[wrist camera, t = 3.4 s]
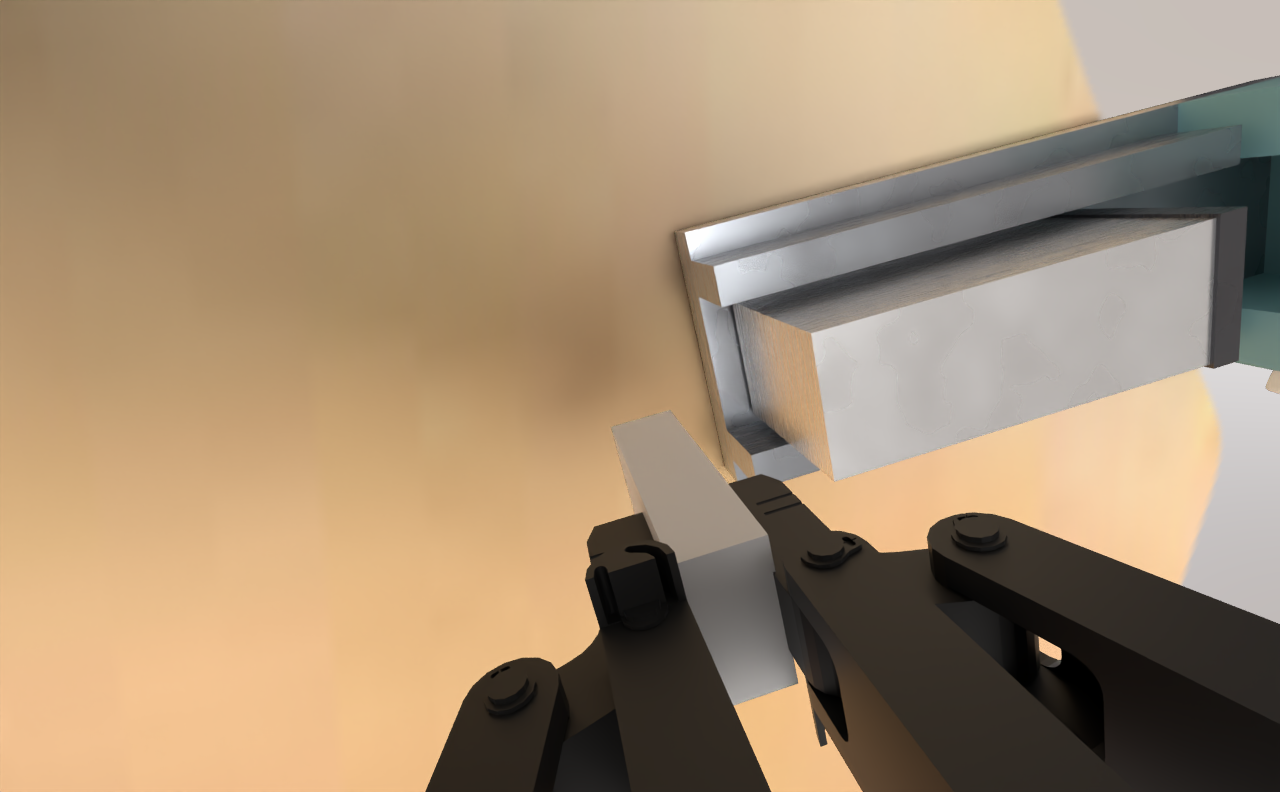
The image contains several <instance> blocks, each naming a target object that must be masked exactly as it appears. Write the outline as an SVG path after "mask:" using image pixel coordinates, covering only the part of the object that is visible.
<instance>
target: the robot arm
mask: <svg viewBox="0 0 1280 792" xmlns="http://www.w3.org/2000/svg"><path fill="white" fill-rule="evenodd" d="M611 429H612V433H613V436H614V440H615V444H616V447H617V451H618V455H619V458H620V462H621V466H622V469H623V473H624V477H625V480H626V484H627V488H628V491H629V495H630V499H631V502H632V506H633V510H634V514H635V515H631V516H628V517H625V518H621V519H618V520H615V521H612V522H608V523H605V524H602V525H599V526H595V527H594V529H593V531H592V533H591V535H590V537H589V539H588V541H587V546H588V552H589V557H590V562H591V565H590V566H589V568H588V569H587V572H586V578H585V581H586V584H587V588H588V591H589V594H590V597H591V601H592V604H593V607H594V610H595V614H596V617H597V620H598V623H599V627H600V630H599V633H598V635H597V637H596V638H595V640H594V641H593V643H592V644H591V645H590V646H589V647H588V648H587V649H586V650H585V651H584V652H583V653H582V654H580V655H579V656H577V657H576V658H574V659H573V660H572V661H570V662H568V663H567V664H565V665H563V666H562V667H560V668H558V669H555V667H554V666H553V664H552V663H551V662H548V661H546V660H543V659H541V658H520V659H517V660H513V661H510V662H507V663H504V664H502V665H500V666H498V667H496V668H495V669H493V670H491V671H490V672H488V673H486V674H485V675H484V676H483V677H482V678H481V679H480V680H479V681H478V682H476V683H475V684H474V685H473V686H472V688H471V689H470V691H469V693H468V694H467V696H466V697H465V699H464V700H463V703H462V705H461V708H460V710H459V712H458V715H457V717H456V720H455V722H454V724H453V727H452V729H451V732H450V734H449V736H448V739H447V741H446V744H445V746H444V748H443V751H442V753H441V756H440V758H439V760H438V763H437V765H436V768H435V770H434V772H433V775H432V777H431V780H430V782H429V784H428V787H427V789H426V792H771V790H770V788H769V786H768V783H767V781H766V779H765V777H764V774H763V772H762V770H761V767H760V765H759V763H758V761H757V758H756V756H755V754H754V752H753V749H752V747H751V745H750V742H749V740H748V738H747V736H746V733H745V731H744V729H743V726H742V724H741V722H740V720H739V717H738V715H737V713H736V711H735V708H734V706H733V705H736V704H739V703H742V702H745V701H748V700H751V699H754V698H757V697H760V696H763V695H765V694H768V693H771V692H774V691H777V690H780V689H783V688H786V687H789V686H792V685H795V684H798V679H797V674H796V669H795V664H794V659H795V660H796V662H797V664H798V665H799V667H800V668H801V670H802V672H803V673H804V675H805V678H806V683H807V688H808V693H809V698H810V703H811V708H812V713H813V718H814V723H815V728H816V733H817V737H818V740H819V743H820V747H821V746H824V745H827V740H826V735H825V729H826V730H827V732H828V734H829V736H830V737H831V739H832V741H833V742H834V744H835V746H836V747H837V749H838V751H839V752H840V754H841V756H842V757H843V759H844V761H845V763H846V764H847V766H848V768H849V769H850V771H851V773H852V774H853V776H854V778H855V779H856V781H857V783H858V784H859V786H860V788H861V789H862V791H863V792H1280V624H1278V623H1276V622H1273V621H1270V620H1268V619H1265V618H1263V617H1260V616H1258V615H1255V614H1253V613H1250V612H1247V611H1245V610H1242V609H1240V608H1237V607H1235V606H1232V605H1229V604H1227V603H1224V602H1222V601H1219V600H1217V599H1214V598H1212V597H1209V596H1206V595H1204V594H1201V593H1199V592H1196V591H1194V590H1191V589H1189V588H1186V587H1183V586H1181V585H1178V584H1176V583H1173V582H1171V581H1168V580H1166V579H1163V578H1160V577H1158V576H1155V575H1153V574H1150V573H1148V572H1145V571H1142V570H1140V569H1137V568H1135V567H1132V566H1130V565H1127V564H1125V563H1122V562H1119V561H1117V560H1114V559H1112V558H1109V557H1107V556H1104V555H1102V554H1099V553H1096V552H1094V551H1091V550H1089V549H1086V548H1084V547H1081V546H1078V545H1076V544H1073V543H1071V542H1068V541H1066V540H1063V539H1061V538H1058V537H1055V536H1053V535H1050V534H1048V533H1045V532H1043V531H1040V530H1038V529H1035V528H1032V527H1030V526H1027V525H1025V524H1022V523H1020V522H1017V521H1015V520H1012V519H1009V518H1005V517H1001V516H998V515H994V514H983V513H966V514H958V515H953V516H951V517H948V518H945V519H942V520H940V521H938V522H937V523H936V524H935V525H933V526H932V527H931V528H930V530H929V533H928V536H927V541H928V549H922V550H913V551H903V552H889V553H880V552H878V551H877V550H876V549H875V548H874V547H872V546H871V545H870V544H869V543H868V542H867V541H865V540H864V539H862V538H860V537H859V536H857V535H855V534H851V533H846V532H842V531H831V530H830V529H829V528H828V527H827V526H825V525H824V524H823V523H822V522H821V521H820V520H819V519H818V518H817V517H816V516H815V515H814V514H813V513H812V512H811V511H810V510H809V509H808V508H807V507H806V506H805V505H804V504H802V502H801V501H800V500H799V499H798V498H797V497H796V496H795V495H794V494H792V492H791V491H790V490H789V489H788V488H787V487H786V486H785V485H784V484H783V483H782V482H781V481H780V480H777V479H774V478H772V477H769V476H766V475H763V474H759V475H756V476H753V477H749V478H746V479H743V480H739V481H736V482H733V483H730V484H728V483H727V482H726V480H725V479H724V478H723V477H722V475H721V474H720V473H719V472H718V470H717V469H716V468H715V467H714V465H713V464H712V463H711V461H710V460H709V459H708V458H707V456H706V455H705V454H704V453H703V451H702V450H701V449H700V447H699V446H698V445H697V444H696V442H695V441H694V440H693V439H692V437H691V436H690V435H689V433H688V432H687V431H686V430H685V428H684V427H683V426H682V425H681V423H680V422H679V421H678V420H677V418H676V417H675V416H674V414H673V413H672V412H671V411H670V410H668V411H665V412H661V413H658V414H654V415H651V416H647V417H644V418H640V419H637V420H634V421H630V422H627V423H623V424H620V425H616V426H613V427H611ZM1038 636H1039V637H1041V638H1043V639H1044V640H1046V641H1048V642H1050V643H1052V644H1054V645H1055V646H1057V647H1059V648H1061V653H1062V658H1061V660H1057V659H1054V658H1052V657H1049V656H1048V655H1046V654H1044V653H1042V652H1041V651H1039V639H1038ZM793 657H794V659H793Z"/></svg>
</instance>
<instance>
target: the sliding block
mask: <svg viewBox="0 0 1280 792" xmlns="http://www.w3.org/2000/svg"><path fill="white" fill-rule="evenodd" d="M1247 209H1248V206H1236V207H1167V208H1099V209H1076V210H1072V211H1069V212H1065V213H1061V214H1058V215H1054V216H1050V217H1047V218H1043V219H1040V220H1036V221H1032V222H1029V223H1025V224H1021V225H1018V226H1014V227H1011V228H1007V229H1003V230H1000V231H996V232H992V233H989V234H985V235H982V236H978V237H974V238H971V239H967V240H963V241H960V242H956V243H953V244H949V245H945V246H942V247H938V248H934V249H931V250H927V251H924V252H920V253H916V254H913V255H909V256H905V257H902V258H898V259H895V260H891V261H887V262H884V263H880V264H876V265H873V266H869V267H866V268H862V269H858V270H855V271H851V272H848V273H844V274H840V275H837V276H833V277H829V278H826V279H822V280H819V281H815V282H811V283H808V284H804V285H800V286H797V287H793V288H790V289H786V290H782V291H779V292H775V293H771V294H768V295H764V296H761V297H757V298H753V299H750V300H746V301H742V302H739V303H735V304H732V306H733V311H734V316H735V321H736V326H737V332H738V337H739V342H740V347H741V352H742V357H743V362H744V368H745V373H746V378H747V383H748V388H749V393H750V398H751V403H752V409H753V413H754V414H755V415H756V416H757V417H758V418H759V419H761V420H762V421H763V422H764V423H765V424H767V425H768V426H769V427H770V428H771V429H773V430H774V431H775V432H776V433H777V434H778V435H780V436H781V437H782V438H783V439H784V440H786V441H787V442H788V443H789V444H790V445H792V446H793V447H794V448H795V449H796V450H798V451H799V452H800V453H801V454H802V455H803V456H805V457H806V458H807V459H808V460H809V461H811V462H812V463H813V464H814V465H815V466H817V467H818V468H819V469H820V470H821V471H822V472H824V473H825V474H826V475H827V476H828V477H830V478H831V479H832V480H833V481H834V482H835V481H838V480H841V479H844V478H848V477H851V476H854V475H857V474H861V473H864V472H867V471H870V470H873V469H877V468H880V467H883V466H886V465H889V464H893V463H896V462H899V461H902V460H905V459H909V458H912V457H915V456H918V455H921V454H925V453H928V452H931V451H934V450H937V449H941V448H944V447H947V446H950V445H953V444H957V443H960V442H963V441H966V440H969V439H973V438H976V437H979V436H982V435H985V434H989V433H992V432H995V431H998V430H1002V429H1005V428H1008V427H1011V426H1014V425H1018V424H1021V423H1024V422H1027V421H1030V420H1034V419H1037V418H1040V417H1043V416H1046V415H1050V414H1053V413H1056V412H1059V411H1062V410H1066V409H1069V408H1072V407H1075V406H1078V405H1082V404H1085V403H1088V402H1091V401H1094V400H1098V399H1101V398H1104V397H1107V396H1110V395H1114V394H1117V393H1120V392H1123V391H1127V390H1130V389H1133V388H1136V387H1139V386H1143V385H1146V384H1149V383H1152V382H1155V381H1159V380H1162V379H1165V378H1168V377H1171V376H1175V375H1178V374H1181V373H1184V372H1187V371H1191V370H1194V369H1197V368H1200V367H1203V366H1204V367H1209V368H1217V367H1220V366H1223V365H1227V364H1230V363H1233V362H1237V361H1239V349H1240V331H1241V314H1242V296H1243V279H1244V261H1245V244H1246V227H1247Z"/></svg>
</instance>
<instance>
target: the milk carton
mask: <svg viewBox="0 0 1280 792" xmlns="http://www.w3.org/2000/svg"><path fill="white" fill-rule="evenodd" d="M1266 388H1267V390H1269V391H1272V392H1275V393H1278V394H1280V371H1276V370H1273V372H1272V374H1271V376H1270V378H1269V380H1268V382H1267V385H1266Z"/></svg>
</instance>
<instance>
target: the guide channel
mask: <svg viewBox="0 0 1280 792" xmlns="http://www.w3.org/2000/svg"><path fill="white" fill-rule="evenodd" d="M1278 77H1280V76H1275V77H1269V78H1265V79H1259V80H1254V81H1250V82H1246V83H1243V84H1238V85H1235V86H1231V87H1227V88H1223V89H1219V90H1216V91H1211V92H1208V93H1204V94H1200V95H1196V96H1193V97H1188V98H1185V99H1181V100H1177V101H1173V102H1169V103H1165V104H1162V105H1158V106H1154V107H1150V108H1146V109H1142V110H1139V111H1135V112H1131V113H1127V114H1123V115H1120V116H1116V117H1112V118H1108V119H1104V120H1100V121H1096V122H1093V123H1089V124H1085V125H1081V126H1077V127H1073V128H1070V129H1066V130H1062V131H1058V132H1054V133H1050V134H1047V135H1043V136H1039V137H1035V138H1031V139H1027V140H1024V141H1020V142H1016V143H1012V144H1008V145H1004V146H1001V147H997V148H993V149H989V150H985V151H981V152H978V153H974V154H970V155H966V156H962V157H958V158H955V159H951V160H947V161H943V162H939V163H935V164H932V165H928V166H924V167H920V168H916V169H912V170H909V171H905V172H901V173H897V174H893V175H889V176H886V177H882V178H878V179H874V180H870V181H866V182H863V183H859V184H855V185H851V186H847V187H843V188H840V189H836V190H832V191H828V192H824V193H820V194H817V195H813V196H809V197H805V198H801V199H797V200H794V201H790V202H786V203H782V204H778V205H774V206H771V207H767V208H763V209H759V210H755V211H751V212H748V213H744V214H740V215H736V216H732V217H728V218H725V219H721V220H717V221H713V222H709V223H705V224H702V225H698V226H694V227H690V228H686V229H682V230H679V231H675V232H674V233H675V237H676V242H677V247H678V251H679V256H680V261H681V265H682V270H683V274H684V279H685V284H686V288H687V293H688V298H689V302H690V307H691V312H692V316H693V321H694V325H695V330H696V335H697V339H698V344H699V349H700V353H701V358H702V363H703V367H704V372H705V377H706V381H707V386H708V390H709V395H710V400H711V404H712V409H713V414H714V418H715V423H716V428H717V432H718V437H719V441H720V446H721V451H722V455H723V460H724V465H725V468H726V469H727V470H728V472H729V473H730V474H731V475H732V477H733V478H734V479H735V480H736V481H739V480H743V479H746V478H749V477H753V476H756V475H759V474H763V475H766V476H769V477H772V478H774V479H777V480H780V481H781V482H783V481H786V480H789V479H793V478H796V477H799V476H802V475H806V474H809V473H812V472H815V471H819V470H820V469H819V468H818V467H817V466H815V465H814V464H813V463H812V462H811V461H809V460H808V459H807V458H806V457H805V456H803V455H802V454H801V453H800V452H799V451H798V450H796V449H795V448H794V447H793V446H792V445H790V444H789V443H788V442H787V441H786V440H784V439H783V438H782V437H781V436H780V435H778V434H777V433H776V432H775V431H774V430H773V429H771V428H770V427H769V426H768V425H767V424H765V423H764V422H763V421H762V420H761V419H759V418H758V417H757V416H756V415H755V414H754V413H753V409H752V403H751V398H750V393H749V388H748V383H747V378H746V373H745V368H744V362H743V357H742V352H741V347H740V342H739V337H738V332H737V326H736V321H735V316H734V311H733V306H732V304H735V303H739V302H742V301H746V300H750V299H753V298H757V297H761V296H764V295H768V294H771V293H775V292H779V291H782V290H786V289H790V288H793V287H797V286H800V285H804V284H808V283H811V282H815V281H819V280H822V279H826V278H829V277H833V276H837V275H840V274H844V273H848V272H851V271H855V270H858V269H862V268H866V267H869V266H873V265H876V264H880V263H884V262H887V261H891V260H895V259H898V258H902V257H905V256H909V255H913V254H916V253H920V252H924V251H927V250H931V249H934V248H938V247H942V246H945V245H949V244H953V243H956V242H960V241H963V240H967V239H971V238H974V237H978V236H982V235H985V234H989V233H992V232H996V231H1000V230H1003V229H1007V228H1011V227H1014V226H1018V225H1021V224H1025V223H1029V222H1032V221H1036V220H1040V219H1043V218H1047V217H1050V216H1054V215H1058V214H1061V213H1065V212H1069V211H1072V210H1076V209H1099V208H1167V207H1236V206H1248V209H1247V227H1246V244H1245V261H1244V279H1245V278H1248V277H1252V276H1255V275H1258V274H1262V273H1264V261H1265V246H1266V231H1267V217H1268V202H1269V187H1270V172H1271V157H1272V156H1262V157H1250V158H1240V155H1241V136H1242V125H1234V126H1226V127H1218V128H1210V129H1203V130H1195V131H1187V132H1179V133H1178V104H1179V103H1183V102H1187V101H1190V100H1194V99H1198V98H1202V97H1206V96H1210V95H1213V94H1217V93H1221V92H1225V91H1229V90H1233V89H1236V88H1240V87H1244V86H1248V85H1252V84H1255V83H1259V82H1263V81H1267V80H1271V79H1275V78H1278Z"/></svg>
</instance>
